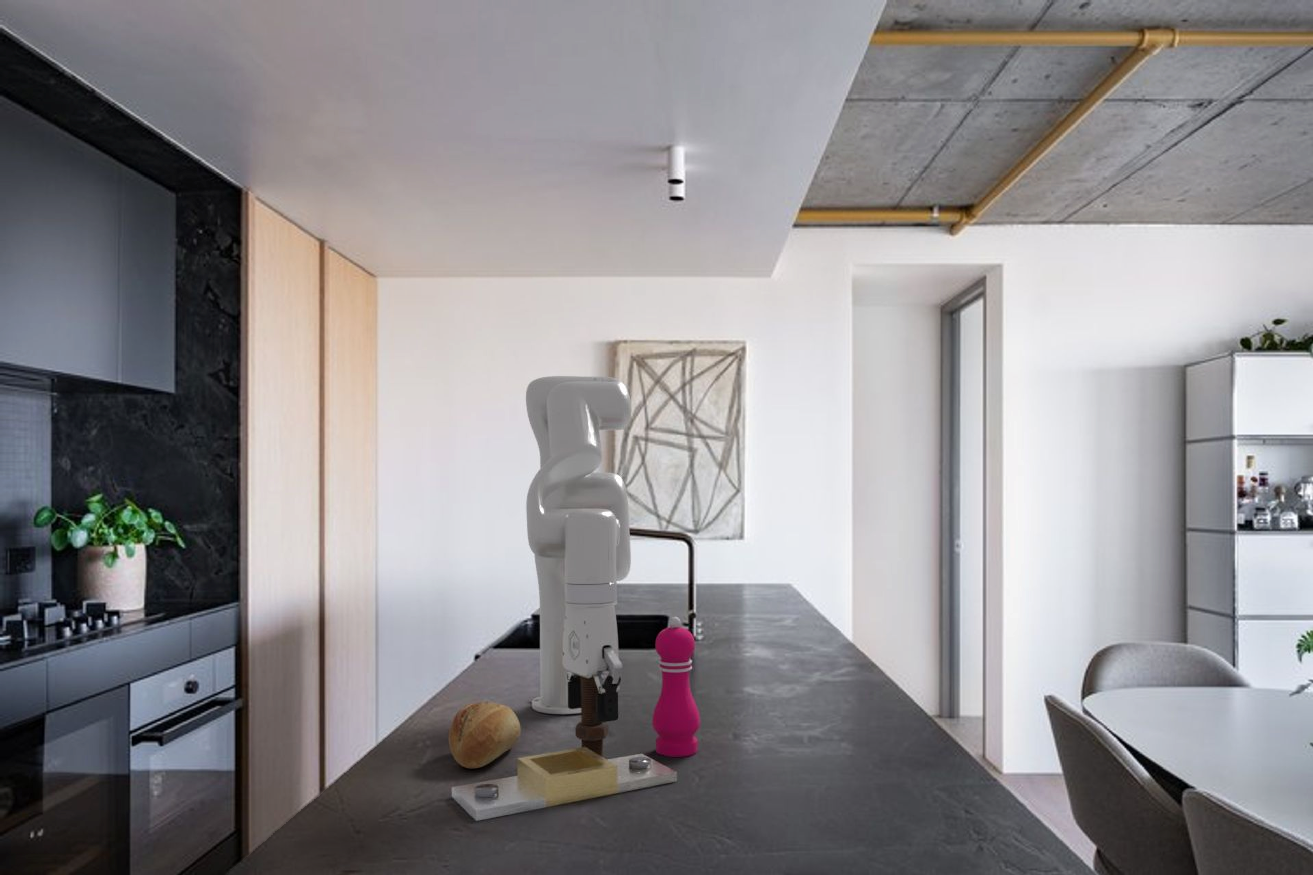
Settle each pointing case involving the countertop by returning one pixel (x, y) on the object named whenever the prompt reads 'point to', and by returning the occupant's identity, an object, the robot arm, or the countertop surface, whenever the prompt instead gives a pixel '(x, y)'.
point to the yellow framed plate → (560, 782)
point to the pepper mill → (675, 693)
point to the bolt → (590, 718)
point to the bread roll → (482, 733)
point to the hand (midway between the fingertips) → (592, 714)
